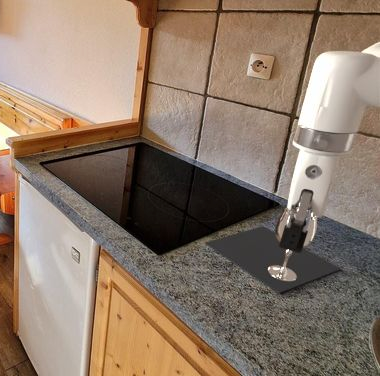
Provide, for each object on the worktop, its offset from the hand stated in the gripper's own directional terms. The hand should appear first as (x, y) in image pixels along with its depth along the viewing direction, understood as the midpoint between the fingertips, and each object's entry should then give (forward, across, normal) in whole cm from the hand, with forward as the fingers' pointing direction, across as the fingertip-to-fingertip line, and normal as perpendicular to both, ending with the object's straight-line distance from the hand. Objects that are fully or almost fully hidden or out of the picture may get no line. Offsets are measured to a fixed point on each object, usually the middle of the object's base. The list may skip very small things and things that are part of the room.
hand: (292, 239), depth 68 cm
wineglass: (+7, 0, 0) cm, 7 cm away
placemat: (+17, +22, +3) cm, 27 cm away
